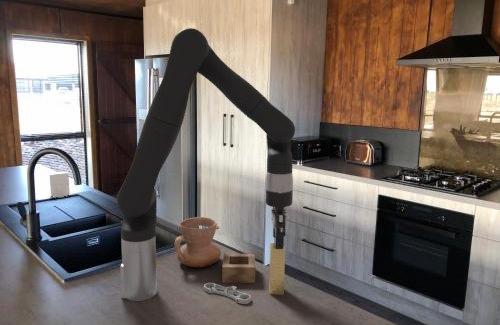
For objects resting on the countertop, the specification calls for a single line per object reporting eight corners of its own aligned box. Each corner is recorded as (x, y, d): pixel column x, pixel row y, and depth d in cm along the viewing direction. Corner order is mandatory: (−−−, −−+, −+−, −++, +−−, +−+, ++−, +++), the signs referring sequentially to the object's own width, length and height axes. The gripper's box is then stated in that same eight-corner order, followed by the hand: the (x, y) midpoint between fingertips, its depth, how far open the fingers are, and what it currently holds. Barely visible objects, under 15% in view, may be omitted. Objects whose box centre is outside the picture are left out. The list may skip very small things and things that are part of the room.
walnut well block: (222, 282, 124) (222, 267, 123) (223, 268, 134) (223, 253, 133) (255, 282, 124) (255, 267, 123) (254, 268, 134) (254, 253, 133)
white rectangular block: (66, 192, 223) (65, 170, 221) (72, 195, 217) (70, 173, 214) (49, 194, 218) (47, 172, 215) (53, 198, 211) (52, 175, 209)
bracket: (234, 305, 109) (201, 283, 120) (234, 311, 109) (201, 289, 120) (255, 296, 114) (221, 276, 125) (254, 302, 114) (221, 282, 125)
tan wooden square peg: (269, 294, 118) (271, 248, 115) (268, 287, 122) (270, 243, 119) (283, 294, 118) (285, 248, 115) (282, 287, 122) (283, 243, 119)
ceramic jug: (206, 249, 149) (205, 211, 146) (232, 261, 139) (231, 221, 136) (163, 264, 137) (161, 223, 134) (188, 278, 127) (186, 235, 124)
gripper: (264, 181, 121) (263, 233, 124) (267, 194, 107) (266, 252, 110) (289, 181, 121) (288, 234, 124) (295, 194, 107) (294, 252, 110)
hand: (278, 242), depth 117 cm, fingers open, 8 cm apart
